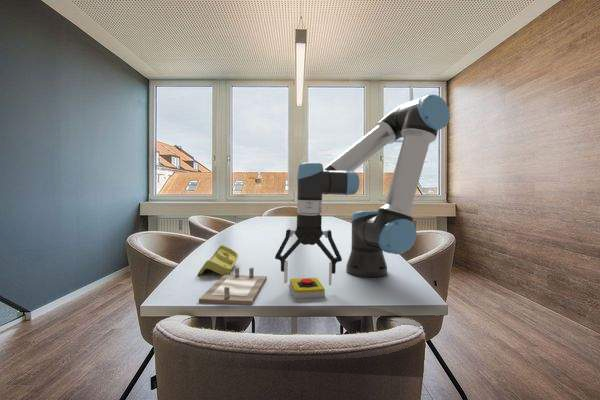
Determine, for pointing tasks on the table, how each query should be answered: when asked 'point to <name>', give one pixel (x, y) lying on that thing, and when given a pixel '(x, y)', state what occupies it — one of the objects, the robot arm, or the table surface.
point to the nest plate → (235, 289)
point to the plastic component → (221, 261)
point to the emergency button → (307, 289)
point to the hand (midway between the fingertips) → (307, 282)
